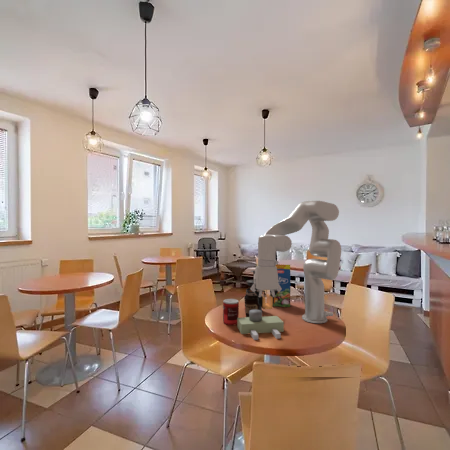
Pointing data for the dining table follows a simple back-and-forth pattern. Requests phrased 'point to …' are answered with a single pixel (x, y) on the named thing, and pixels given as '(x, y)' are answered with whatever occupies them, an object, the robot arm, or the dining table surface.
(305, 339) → the dining table surface
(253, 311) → the green plate with pegs
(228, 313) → the canned food
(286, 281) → the blue food package
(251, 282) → the french press
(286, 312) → the dining table surface
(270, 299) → the chute
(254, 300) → the coffee cup
